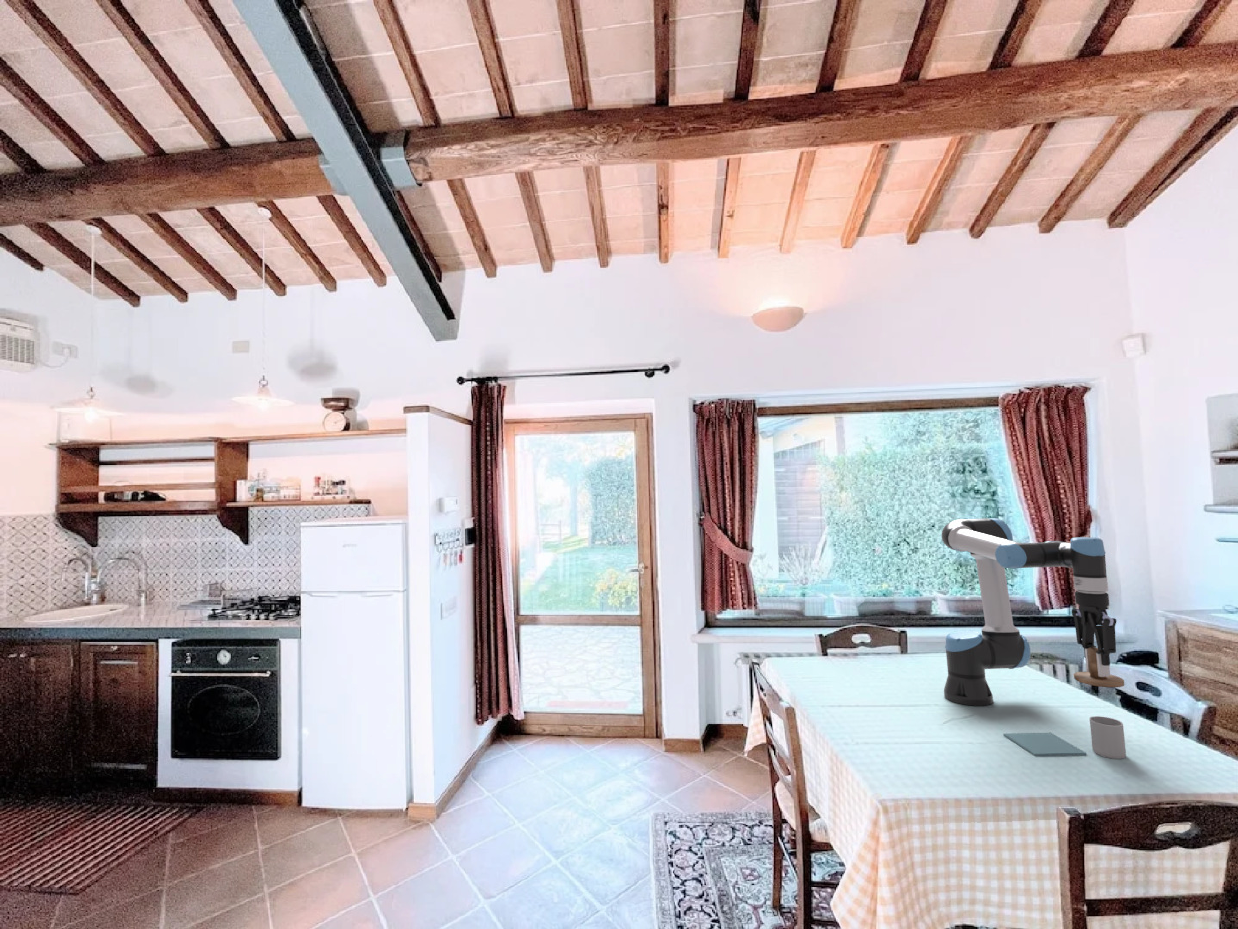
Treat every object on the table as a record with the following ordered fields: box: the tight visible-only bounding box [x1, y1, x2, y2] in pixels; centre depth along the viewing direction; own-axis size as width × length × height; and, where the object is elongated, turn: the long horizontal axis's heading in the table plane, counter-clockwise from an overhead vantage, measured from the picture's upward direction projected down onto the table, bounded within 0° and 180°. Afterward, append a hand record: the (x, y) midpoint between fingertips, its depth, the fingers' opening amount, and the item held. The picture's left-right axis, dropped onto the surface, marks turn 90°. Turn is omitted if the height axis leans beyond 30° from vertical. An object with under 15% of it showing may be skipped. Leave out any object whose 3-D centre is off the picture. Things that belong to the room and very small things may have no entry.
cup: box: [1089, 715, 1127, 760], centre depth 160 cm, size 7×10×9 cm
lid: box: [1073, 647, 1125, 689], centre depth 162 cm, size 11×11×9 cm
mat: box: [1003, 732, 1087, 757], centre depth 166 cm, size 14×14×1 cm
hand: (1098, 673), depth 162 cm, fingers closed on lid, 3 cm apart
